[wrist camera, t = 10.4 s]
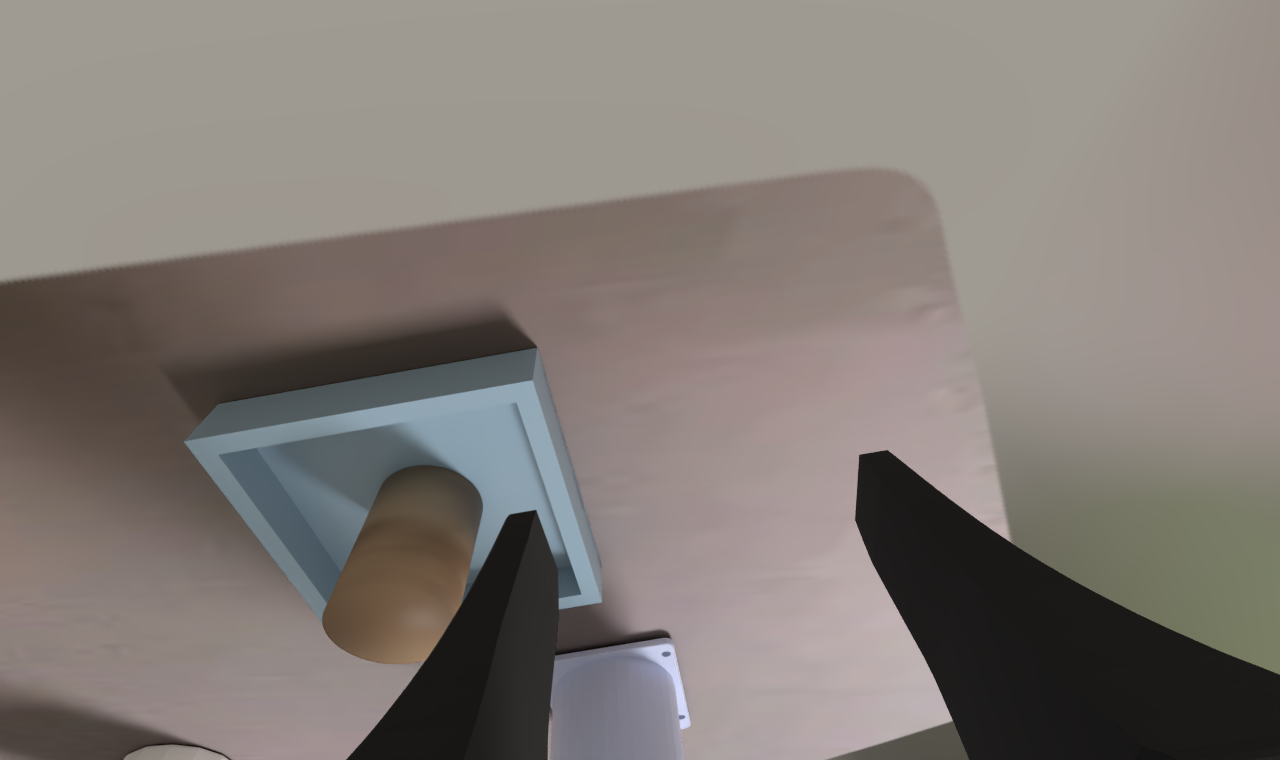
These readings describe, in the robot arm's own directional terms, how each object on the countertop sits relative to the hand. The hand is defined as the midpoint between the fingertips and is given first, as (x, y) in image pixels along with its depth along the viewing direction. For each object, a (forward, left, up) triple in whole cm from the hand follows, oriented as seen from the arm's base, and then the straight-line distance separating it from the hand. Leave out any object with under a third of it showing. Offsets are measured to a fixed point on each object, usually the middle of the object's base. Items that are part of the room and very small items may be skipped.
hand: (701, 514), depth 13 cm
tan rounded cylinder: (-7, +11, -10) cm, 16 cm away
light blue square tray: (-7, +11, -10) cm, 17 cm away
